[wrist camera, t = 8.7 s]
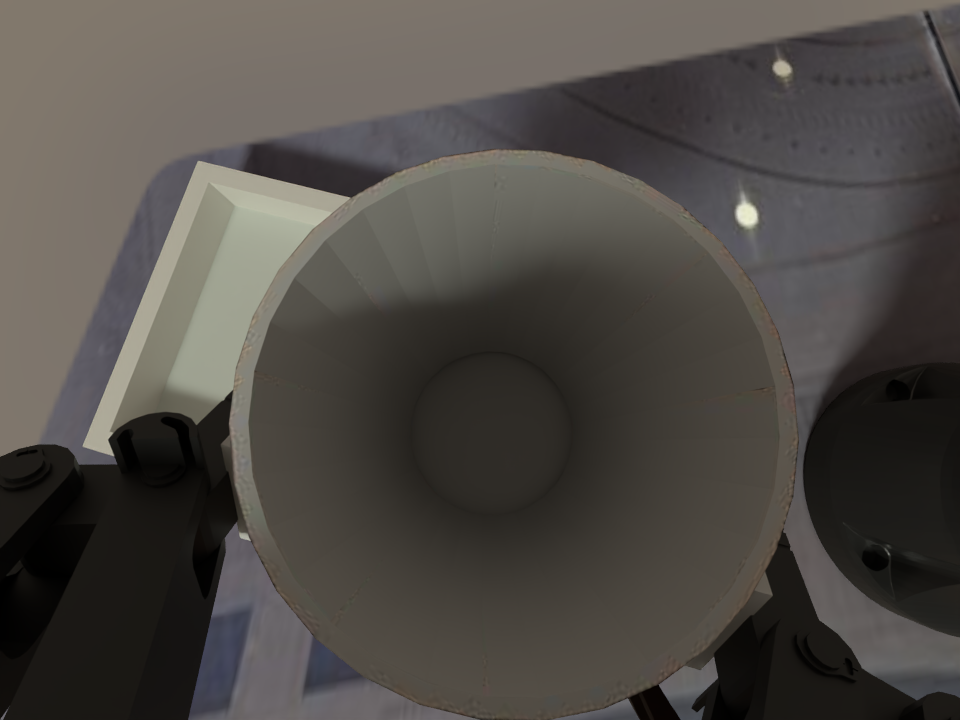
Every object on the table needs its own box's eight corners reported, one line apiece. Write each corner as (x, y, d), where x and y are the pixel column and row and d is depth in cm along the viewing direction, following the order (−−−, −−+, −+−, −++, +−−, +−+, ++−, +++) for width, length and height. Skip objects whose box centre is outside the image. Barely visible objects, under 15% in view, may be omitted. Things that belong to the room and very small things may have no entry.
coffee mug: (372, 315, 18) (250, 150, 8) (603, 313, 18) (760, 146, 8) (363, 661, 16) (182, 1007, 6) (626, 654, 16) (877, 981, 6)
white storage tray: (467, 251, 33) (463, 225, 29) (387, 522, 30) (370, 533, 26) (232, 193, 34) (198, 160, 30) (134, 446, 32) (82, 446, 28)
